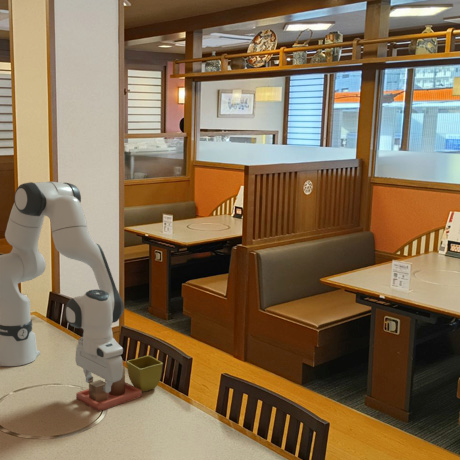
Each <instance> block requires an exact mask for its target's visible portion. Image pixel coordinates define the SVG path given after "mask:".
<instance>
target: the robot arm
mask: <svg viewBox="0 0 460 460" xmlns="http://www.w3.org/2000/svg"><path fill="white" fill-rule="evenodd" d="M13 198H14V199H13V200H14V201H13V202H14V203H13V205H12V208H11V211H10V214H9V218H8V221H7V225H6V229H5V232H4V237H5V239H6V241H7V243H8V244H9V245H10V246H12V249H11V251H10V252H9V253H4V254H0V367H1V366H2V367H18V366H23V365H28V364H30V363H32V362H33V361H35V360H36V359H37V358H38V356H39V355H40V354H41V351H40V349H38V348H37V339H36V333H35V332H34V331H33V320H32V318H31V317H32V316H31V300H30V298H29V297H28V296H27V295H25V294H24V293H22V292H20V289H19V284H21V283H24V282H29V281H33V280H34V279H36V278H38V277H40V276H42V275H43V274H44V273H45V270H46V265H47V264H46V258H45V257H44V255H43V254H42V253H41V252H40V251H39V240H40V236H41V231H42V228H43V224H44V220H45V217H48V219H49V221H50V222H49V223H50V228H51V237H52V240H53V241H52V242H53V244H54V247H55V249H56V250H57V252H59V253H60V254H61V255H62V256H64V257H66V258H67V259H70V260H75V261H78V262H82V263H84V264H86V265H87V266H89V267H90V268H91V270H92V271H93V274H94V278H95V280H96V283H97V285H98V289H90V290H88V291H85V293H84V294H83V295H78V296H75V297H72V298H70V299H69V300H68V301H67V303H66V304H65V308H64V313H65V314H64V316H65V320H66V322H67V323H68V324H69V325H70V326H71V327H74V328H76V329H82V330H83V333H82V336H81V337H79V338H78V343H77V344H76V348H75V349H76V350H75V364H76V366H78V367H80V368H81V369H83V370H82V372H83V374H84V377H85V382H86V384H89V383H91V382H94V376H92V374H94V375H96V376H97V377H99V378H101V379H103V380H104V382H105V383H106V385H105V386H103V391H104V392H106V393H108V392H110V391H111V386H112V384H113V383H114V382H117V381H120V380H121V378H122V375H123V366H124V363H123V358H122V355H123V352H124V348H123V347H122V346H121V345H120V344H119V342H117V340H116V339H115V338H114V335H113V329H112V324H113V323H117V322H118V320H119V319H120V318H121V317H122V315H123V313H124V311H125V306H124V305H125V304H124V300H123V299H122V296H121V295H120V293H119V291H118V289H117V287H116V282H115V280H114V277H113V274H112V271H111V269H110V266H109V263H108V260H107V258H106V256H105V253H104V251H103V248H102V247H101V245H100V244H98V243H96V242H95V241H94V240H93V239H94V238H92V236H91V234H90V232H89V229H88V224H87V220H86V216H85V212H84V210H83V206H82V204H81V202H82V201H81V200H82V195H81V192H80V189H79V188H78V186H76V185H74V184H72V183H70V182H57V181H40V182H32V181H31V182H30V181H29V182H24V183H22V184H19V186H17V188H16V190H15V192H14V197H13Z"/></svg>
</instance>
